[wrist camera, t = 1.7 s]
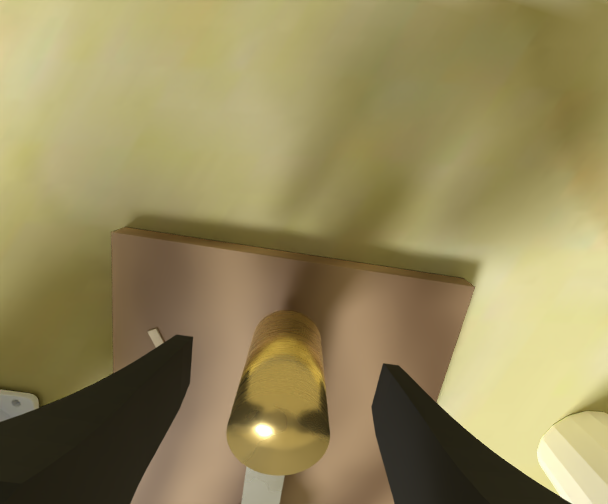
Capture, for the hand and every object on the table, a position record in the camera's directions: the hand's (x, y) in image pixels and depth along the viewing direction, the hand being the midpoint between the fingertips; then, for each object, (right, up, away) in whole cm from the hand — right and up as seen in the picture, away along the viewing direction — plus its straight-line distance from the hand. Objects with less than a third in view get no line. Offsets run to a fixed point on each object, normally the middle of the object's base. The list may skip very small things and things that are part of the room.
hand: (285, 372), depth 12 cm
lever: (-1, -6, +6) cm, 9 cm away
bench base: (-1, -6, +8) cm, 10 cm away
